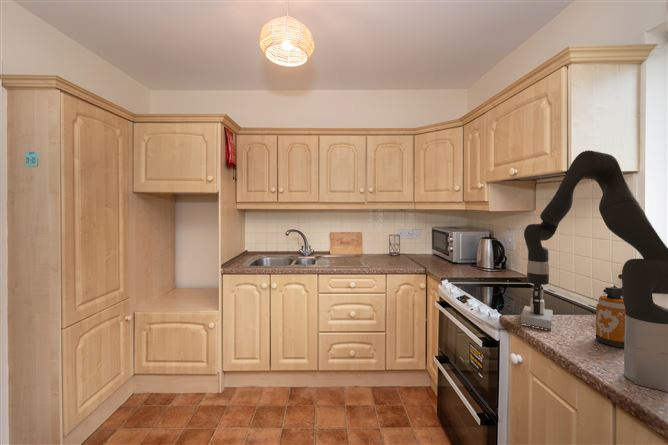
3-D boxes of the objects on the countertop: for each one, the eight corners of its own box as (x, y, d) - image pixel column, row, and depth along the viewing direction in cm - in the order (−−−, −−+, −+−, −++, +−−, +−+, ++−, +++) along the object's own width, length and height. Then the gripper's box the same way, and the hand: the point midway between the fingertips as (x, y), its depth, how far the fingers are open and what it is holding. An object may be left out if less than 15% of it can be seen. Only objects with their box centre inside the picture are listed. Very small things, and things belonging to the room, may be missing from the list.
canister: (589, 340, 106) (590, 284, 106) (608, 335, 110) (609, 282, 110) (621, 350, 98) (622, 290, 97) (640, 345, 102) (641, 287, 101)
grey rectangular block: (550, 331, 114) (551, 320, 114) (520, 325, 121) (520, 315, 120) (552, 319, 127) (552, 310, 127) (524, 314, 133) (525, 305, 133)
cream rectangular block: (543, 320, 120) (543, 302, 120) (530, 318, 123) (530, 300, 123) (544, 317, 124) (544, 299, 124) (531, 315, 127) (531, 297, 127)
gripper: (548, 275, 115) (547, 319, 116) (549, 270, 126) (549, 309, 127) (525, 273, 120) (524, 315, 120) (528, 268, 131) (528, 306, 132)
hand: (537, 312), depth 124 cm, fingers closed on cream rectangular block, 4 cm apart
